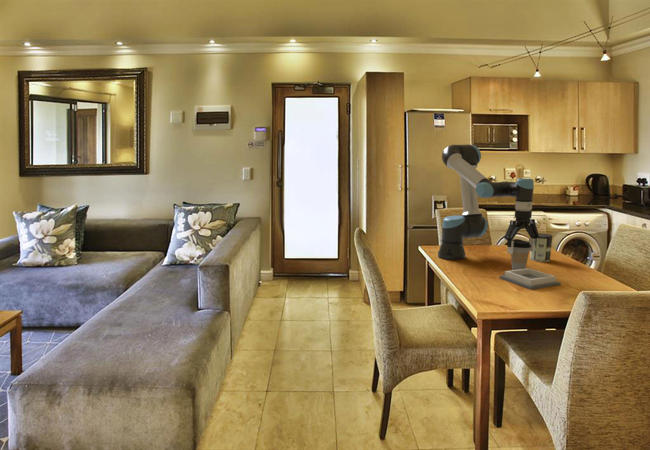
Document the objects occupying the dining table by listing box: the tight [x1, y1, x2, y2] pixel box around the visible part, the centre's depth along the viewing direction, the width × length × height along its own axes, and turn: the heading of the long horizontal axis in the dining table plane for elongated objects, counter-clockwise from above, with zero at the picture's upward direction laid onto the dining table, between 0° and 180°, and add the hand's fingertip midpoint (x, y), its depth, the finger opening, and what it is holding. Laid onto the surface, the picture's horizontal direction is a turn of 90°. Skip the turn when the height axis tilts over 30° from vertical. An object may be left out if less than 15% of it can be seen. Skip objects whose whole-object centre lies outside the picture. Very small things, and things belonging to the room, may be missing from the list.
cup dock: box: [499, 267, 562, 291], centre depth 189 cm, size 18×18×4 cm
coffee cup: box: [510, 239, 531, 270], centre depth 205 cm, size 9×9×15 cm
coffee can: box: [529, 232, 553, 263], centre depth 227 cm, size 10×10×14 cm
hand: (520, 252), depth 204 cm, fingers open, 13 cm apart
